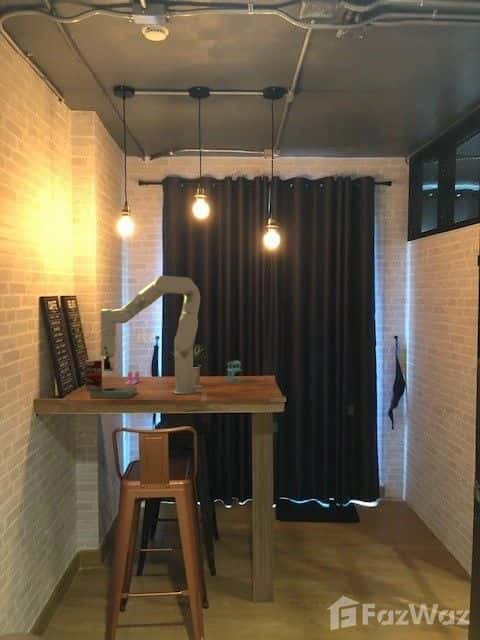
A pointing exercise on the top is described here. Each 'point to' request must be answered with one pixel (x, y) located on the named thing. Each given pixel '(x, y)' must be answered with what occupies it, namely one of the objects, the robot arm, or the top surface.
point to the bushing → (111, 364)
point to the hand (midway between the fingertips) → (109, 368)
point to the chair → (233, 371)
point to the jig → (113, 392)
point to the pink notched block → (130, 381)
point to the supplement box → (93, 374)
